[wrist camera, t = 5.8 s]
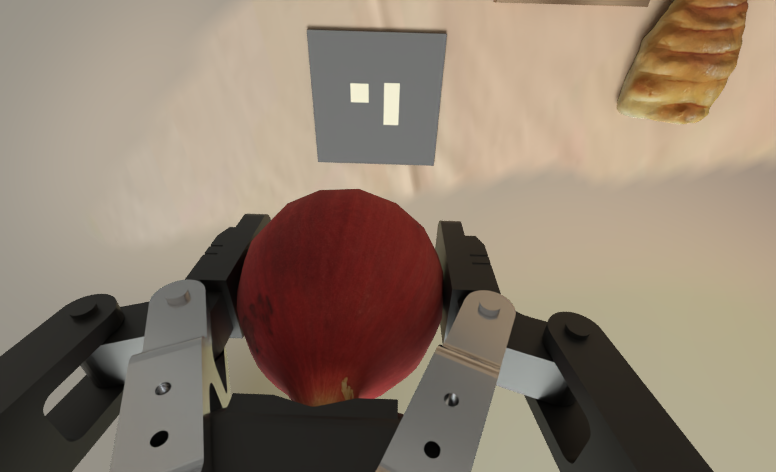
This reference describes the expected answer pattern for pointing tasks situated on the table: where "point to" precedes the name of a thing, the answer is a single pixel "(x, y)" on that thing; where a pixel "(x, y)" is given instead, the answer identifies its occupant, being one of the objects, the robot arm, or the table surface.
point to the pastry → (684, 61)
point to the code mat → (376, 95)
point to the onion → (340, 296)
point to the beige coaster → (584, 2)
